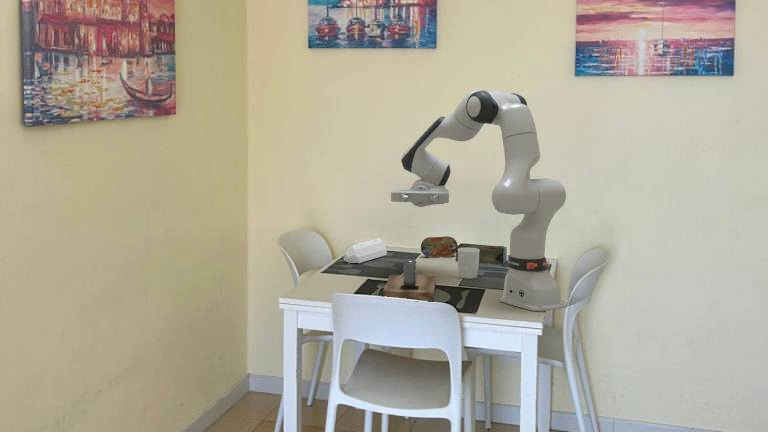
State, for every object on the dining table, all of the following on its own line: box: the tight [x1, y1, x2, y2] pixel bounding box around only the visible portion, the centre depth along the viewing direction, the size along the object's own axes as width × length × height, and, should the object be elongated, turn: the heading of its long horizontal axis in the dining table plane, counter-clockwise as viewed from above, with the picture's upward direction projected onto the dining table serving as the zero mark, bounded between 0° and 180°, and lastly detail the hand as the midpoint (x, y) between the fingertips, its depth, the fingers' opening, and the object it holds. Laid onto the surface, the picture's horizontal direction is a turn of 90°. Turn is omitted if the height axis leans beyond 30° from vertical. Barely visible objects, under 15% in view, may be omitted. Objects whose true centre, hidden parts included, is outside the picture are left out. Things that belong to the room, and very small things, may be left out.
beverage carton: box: [455, 243, 508, 265], centre depth 338 cm, size 8×19×7 cm, turn 73°
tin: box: [420, 235, 459, 259], centre depth 345 cm, size 15×3×8 cm, turn 104°
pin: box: [403, 258, 417, 290], centre depth 279 cm, size 4×4×12 cm
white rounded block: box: [343, 237, 388, 264], centre depth 340 cm, size 7×7×24 cm
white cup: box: [457, 248, 480, 280], centre depth 310 cm, size 8×8×10 cm
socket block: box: [382, 274, 437, 302], centre depth 286 cm, size 16×24×3 cm, turn 175°
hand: (418, 199), depth 293 cm, fingers open, 8 cm apart
